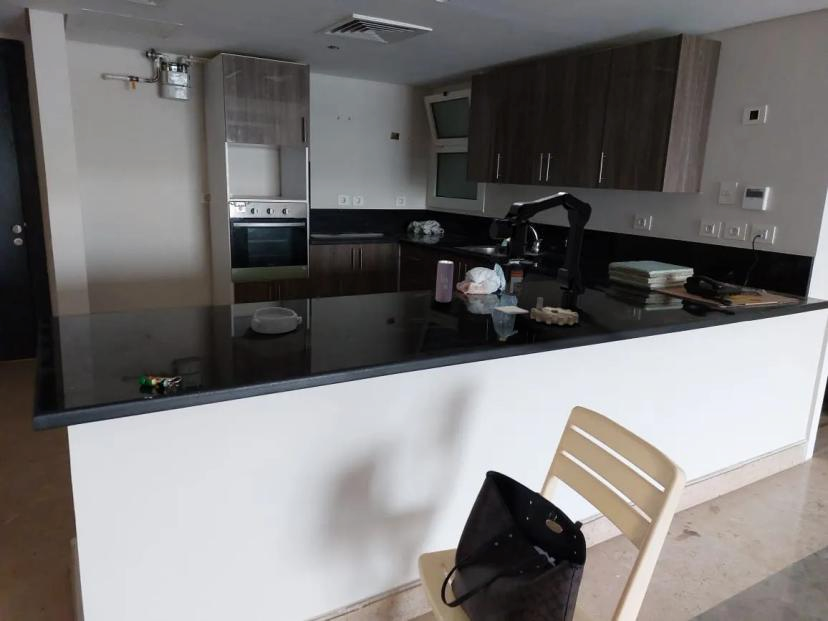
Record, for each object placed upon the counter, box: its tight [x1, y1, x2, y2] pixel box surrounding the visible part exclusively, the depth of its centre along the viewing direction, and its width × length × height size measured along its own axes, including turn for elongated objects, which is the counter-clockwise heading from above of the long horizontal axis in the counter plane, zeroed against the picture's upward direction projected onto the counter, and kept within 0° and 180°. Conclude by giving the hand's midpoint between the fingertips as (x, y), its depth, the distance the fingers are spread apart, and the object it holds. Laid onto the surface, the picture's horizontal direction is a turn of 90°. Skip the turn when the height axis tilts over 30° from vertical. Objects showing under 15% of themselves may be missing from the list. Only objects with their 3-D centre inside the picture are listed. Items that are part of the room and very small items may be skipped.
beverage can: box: [435, 260, 454, 303], centre depth 216 cm, size 6×6×15 cm
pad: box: [493, 305, 529, 315], centre depth 208 cm, size 9×9×1 cm
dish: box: [250, 306, 303, 334], centre depth 168 cm, size 14×14×5 cm
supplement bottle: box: [504, 262, 524, 297], centre depth 205 cm, size 6×6×11 cm
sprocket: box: [530, 296, 579, 326], centre depth 196 cm, size 16×16×7 cm
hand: (513, 282), depth 206 cm, fingers closed on supplement bottle, 6 cm apart
